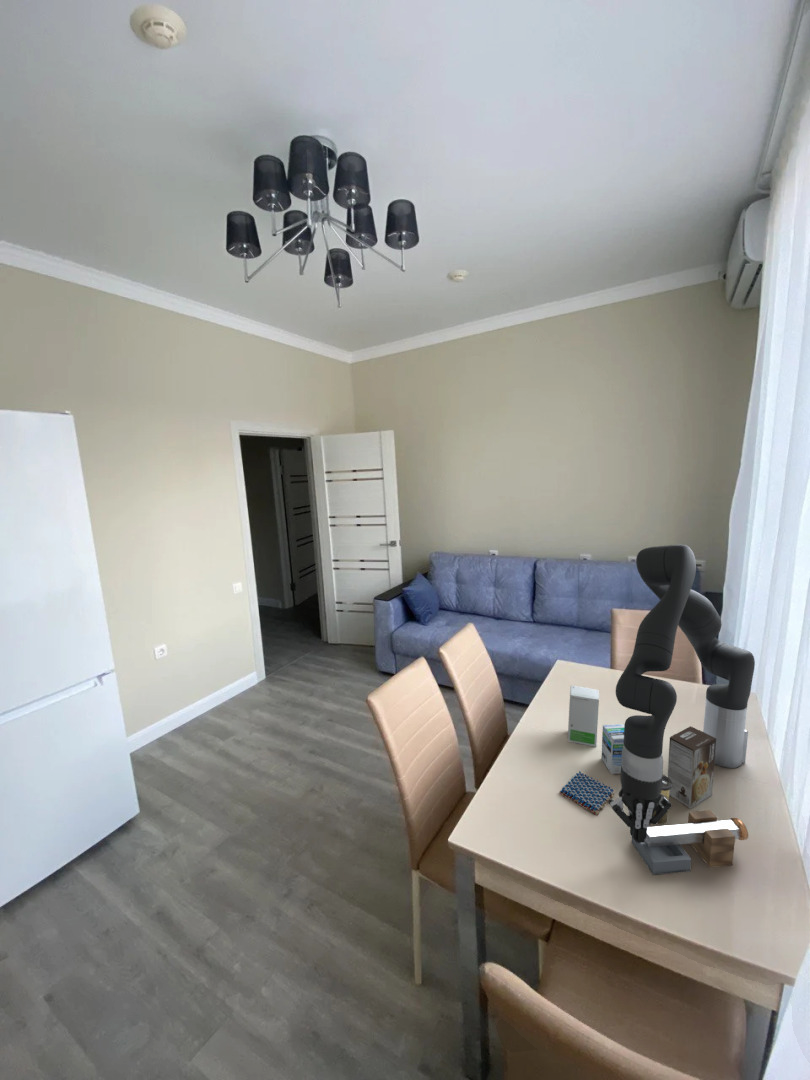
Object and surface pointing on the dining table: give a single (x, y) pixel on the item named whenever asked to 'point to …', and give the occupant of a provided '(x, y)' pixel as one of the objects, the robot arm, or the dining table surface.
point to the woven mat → (587, 792)
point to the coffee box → (691, 766)
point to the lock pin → (692, 832)
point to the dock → (663, 858)
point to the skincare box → (583, 715)
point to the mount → (713, 841)
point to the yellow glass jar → (665, 791)
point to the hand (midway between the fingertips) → (637, 839)
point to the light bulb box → (613, 747)
